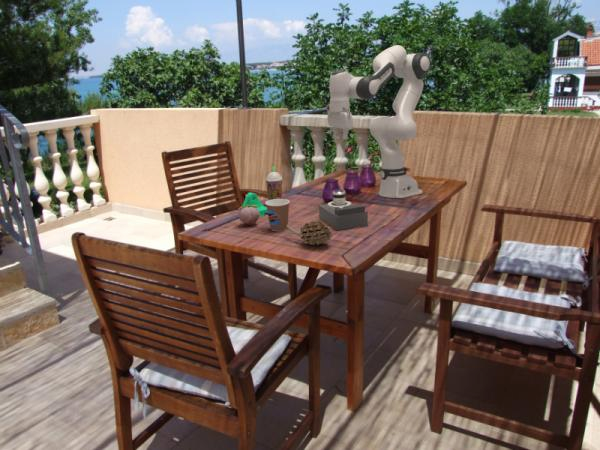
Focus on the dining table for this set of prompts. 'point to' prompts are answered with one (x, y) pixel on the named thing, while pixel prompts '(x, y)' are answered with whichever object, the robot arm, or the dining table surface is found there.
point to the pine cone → (313, 232)
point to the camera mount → (255, 203)
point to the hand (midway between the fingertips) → (340, 137)
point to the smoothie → (274, 185)
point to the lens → (339, 197)
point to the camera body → (344, 215)
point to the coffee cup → (278, 214)
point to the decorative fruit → (248, 214)
